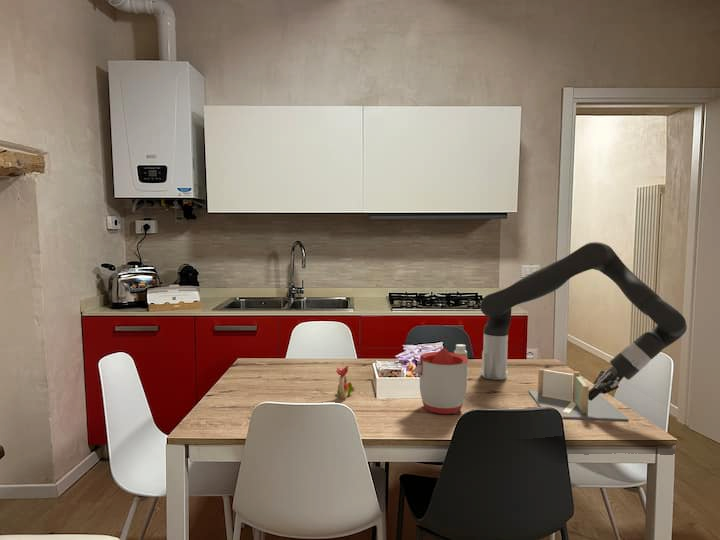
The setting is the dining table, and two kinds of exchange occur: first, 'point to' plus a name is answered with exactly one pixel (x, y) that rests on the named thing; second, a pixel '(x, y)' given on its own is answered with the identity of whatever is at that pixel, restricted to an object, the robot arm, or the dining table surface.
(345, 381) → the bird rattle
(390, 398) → the dining table surface
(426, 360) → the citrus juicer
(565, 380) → the panel
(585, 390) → the fence hinged section
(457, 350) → the supplement bottle
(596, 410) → the board
